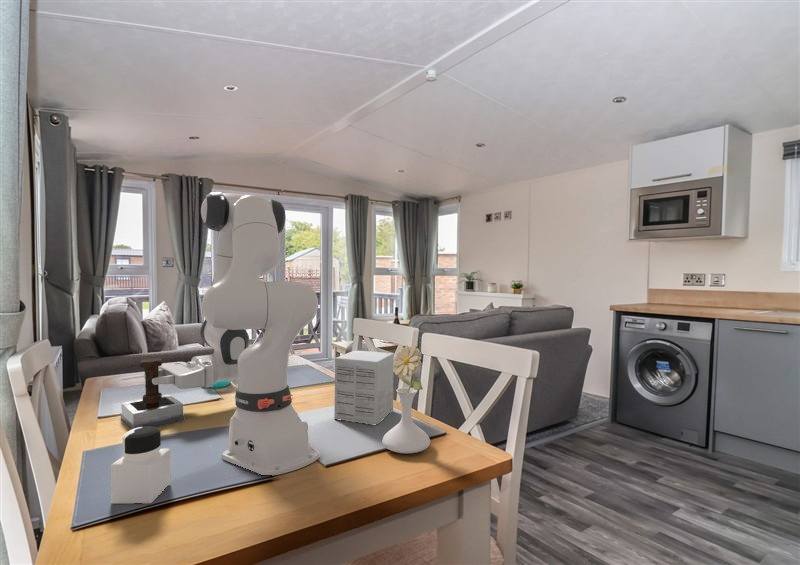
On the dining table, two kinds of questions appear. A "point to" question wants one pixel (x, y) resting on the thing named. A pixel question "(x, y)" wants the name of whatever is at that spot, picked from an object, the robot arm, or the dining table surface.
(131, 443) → the medicine bottle
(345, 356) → the supplement box
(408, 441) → the flower in vase
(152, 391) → the bolt
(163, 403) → the docking socket
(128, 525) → the dining table surface
